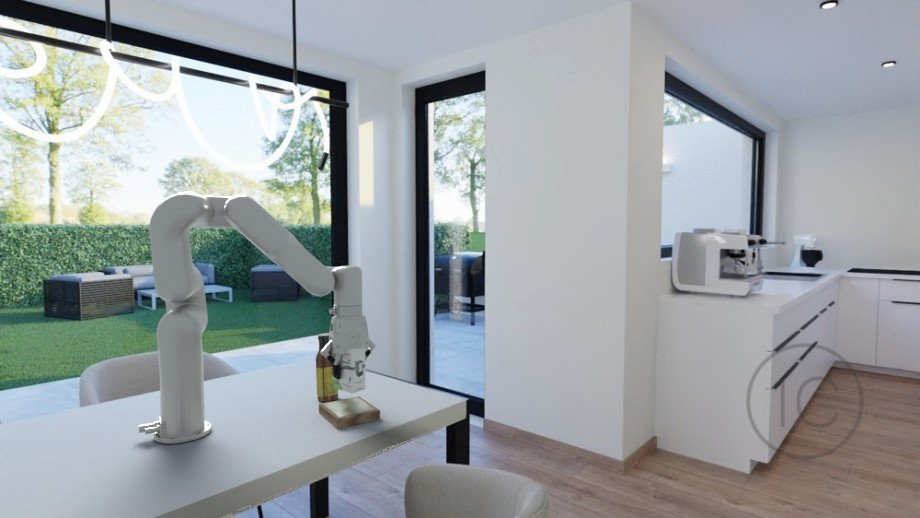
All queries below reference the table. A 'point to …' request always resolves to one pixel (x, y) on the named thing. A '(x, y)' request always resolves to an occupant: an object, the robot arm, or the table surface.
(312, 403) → the table surface
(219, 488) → the table surface
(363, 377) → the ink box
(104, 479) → the table surface
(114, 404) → the table surface
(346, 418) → the wooden tray
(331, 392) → the sauce bottle
